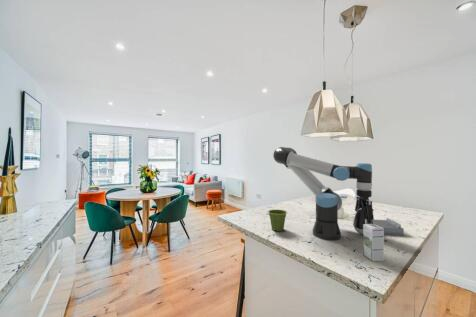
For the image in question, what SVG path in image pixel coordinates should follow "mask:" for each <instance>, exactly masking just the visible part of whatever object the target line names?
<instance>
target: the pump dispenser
mask: <svg viewBox="0 0 476 317" xmlns="http://www.w3.org/2000/svg"><path fill="white" fill-rule="evenodd" d="M373 212H374V209H373ZM365 218H366V215H365V211H364V208H363V207H360V208H359V209H358V210H357V212H356V211H355V214H354V218H353V223H352V225H353V228H354V230H355V232H356V233H358V234H361V235H363V224H365ZM371 224H373V219H372V220H371Z"/></svg>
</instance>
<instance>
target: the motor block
mask: <svg viewBox="0 0 476 317" xmlns="http://www.w3.org/2000/svg"><path fill="white" fill-rule="evenodd" d="M373 224H375V225H377V226H380V227H382V228H384V236H385V235H387V236H388V235H389V236H403V237H404V235H405V234H404V230H405V228H404V227H402V224H401V223H399V222H396V221H394V220H392V219H390V218H388V217H387V218H386V219H373Z"/></svg>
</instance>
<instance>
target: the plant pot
mask: <svg viewBox="0 0 476 317" xmlns="http://www.w3.org/2000/svg"><path fill="white" fill-rule="evenodd" d="M267 212H268V215H269V218H270V219H269V220H270V225H271V226H270V227H271V230H272V231H274V230H276V231H275V232H283V231H284V229H285V223H286V217H287V214H288V212H287V210H284V209H269V210H268V211H267Z"/></svg>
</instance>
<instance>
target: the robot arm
mask: <svg viewBox="0 0 476 317" xmlns="http://www.w3.org/2000/svg"><path fill="white" fill-rule="evenodd" d="M272 155H273V159H274V161H275V163H278V164H280V165H283V166H285V167H286V169H287V170H291V171H292V172H293V173H294V174H295V175H296V177H298V178H299V180H300V181H301V182H302V183H303V184H304V185H305V187H307V188H308V189H309V190H310V192H311V193H312V194H314V199H315V221H314V224H313V228H312V235H313V236H315V237H316V238H320V239H323V240H326V241H327V240H329V241H338V240H340V239H342V232H341V229H340V227H339V222H338V217H339V213H338V211H339V210H340V209H341V208H342V204H343V199H342V197H341V196H340V195H339V194H338V193H336V192H334V191H333V189H331V187H327V186H325V185H324V184H323V183H322V182H321V181H320V180H319V179H318V178H317V177H316V175H314V174H313V173H317V174H320V175H324V176H326V177H330V178H332V179H336V180H337V181H341V182H342V181H343V182H344V181H347V180H349V179H354V180H356V183H355V184H356V185H355V186H356V193H355V195H356V202H355V207H354V212H355V213H356V212H357V210H358V209H359V208H360V207H363V208H364V211H365V215H366V218H365V224H371V220H372V219H374V211H373V210H374V208H373V201H372V200H370V199H369V198H371V197H372V196H373V195H372V194H373V191H372V188H373V182H372V181H373V166H372V164H371V163H364V162H363V163H362V162H361V163H360V162H359V163H356V166H350V165H338V164H334V163H330V162H327V161H323V160H320V159H317V158H311V157H309V156H305V155H300V154H298V153H297V151H296V150H295V149H294V148H292V147H284V146H280V147H277V148H276V149H275V150H274V152H273V154H272ZM312 172H313V173H312Z"/></svg>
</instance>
